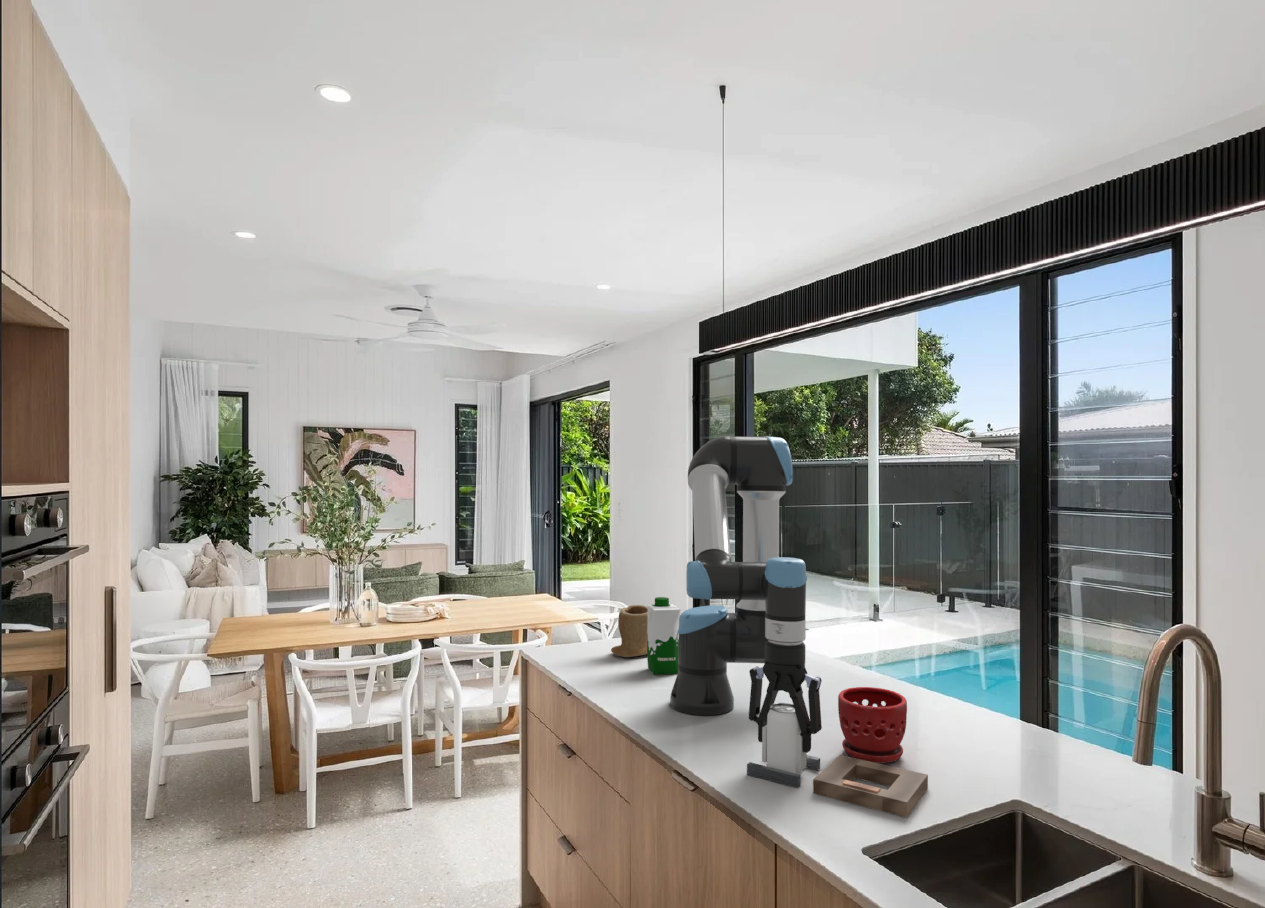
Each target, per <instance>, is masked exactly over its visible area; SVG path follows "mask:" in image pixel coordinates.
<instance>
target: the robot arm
mask: <svg viewBox="0 0 1265 908" xmlns="http://www.w3.org/2000/svg"><path fill="white" fill-rule="evenodd" d="M793 471H794V470H793V461H792V454H791V451H790V448H789V445H788V443H787V441H786V440H785V439H784V438H783V437H778V436H777V437H776V436H768V435H764V436H730V435H724V436H723V435H722V436H718V437H715V438H713V439H710V440H709V441H707V442H706V443H705V444H703V445H702V446H701V447H700V448H699V449H698V450H697V451H696V452H695V453H694V455H693V457H692V459H691V461H690V462H689V465H688V468H687V485H688V487H689V489H690V490H691V491H692V509H693V510H692V511H693V512H692V513H693V538H694V540H693V542H694V543H693V544H694V560H693V561H688V562H687V564H686V574H685V576H686V577H685V578H686V580H685V581H686V582H685V584H686V588H685V589H686V594H687V596H688V597H689V598H692V599H701V600H706V601H708V600H709V601H710V600H739V602H737V603H736V606H735V607H736V608H735V612H729V610H728V608H727V607H726V606H724V605H704V606H697V607H695V606H694V607H692V608H688V609H686V610H684V611H683V612H681V613H680V617H679V629H678V634H679V648H678V674H676V678H675V681H674V683H673V687H672V690H671V693H670V698H669V699H670V703H669V704H670V705H669V706H670V707H671V708H672V709H674V710H675V711H678V712H680V713H684V714H690V715H695V716H696V715H697V716H718V715H723V714H727V713H730V712H731V711H732V710H734V708H735V707H734V706H735V705H734V704H735V703H734V702H735V698H734V694H733V690H732V688H731V684H730V681H729V678H728V673H727V672H728V670H727V669H728V668H727V667H728V666H727V665H728V663H729V664H730V663H731V664H732V663H733V664H736V663H737V664H738V663H739V664H763V666H761V667H760V666H755V667H753V668H750V670H749V676H750V677H749V678H750V681H751V684H750V694H749V707H748V720H750V721H753V722H754V723H756V724H757V732H758V733H757V740H758V742H759V743H761V762H762V763H766V764H767V715H768V712H769V710H770V705H772V704H775V701H776V698H777V695H778V693H779V692H780V691H781V692H782V691H783V692H786V693H788V695H789V698H790V699H791V701H792V704H793V705H794V709H795V712H796V716H797V719H798V723H799V726H800V730H801V733H800V734H798V735H797V771H802V772H803V770H804V769H806V768H805V767H806V755H807V753H809V752H810V751H811V750H812V735H815V734H818V733H819V732H820V731H821V730H822V728H823V726H822V712H821V699H820V698H821V697H820V688H821V685H822V678H821V677H820V676H812V675H810V674H809V673H808V671H807V669H806V644H805V642H804V641H806V638H807V637H806V635H807V634H806V632H807V631H806V630H807V629H806V627H807V626H806V623H807V622H806V605H807V603H806V602H807V600H806V599H807V598H806V597H807V596H806V595H807V593H806V591H807V580H808V576H807V570H806V569H807V568H806V563H805V561H804V560H803V559H801V558H796V557H790V556H789V557H785V556H784V557H783V556H781V557H780V499H781V498H782V497H783V496H784V495H785V494H786V493H787V491H786V486H787V487H788V486H790V485H792V483H793V479H794V478H793V475H794V474H793V473H794V472H793ZM729 485H736V493H737V494H738V495H739V496H740V497H741V498H742V500H743V501H742V503H743V504H742V506H743V507H742V509H743V510H742V512H743V513H742V514H743V515H742V521H743V522H742V561H732V551H731V541H730V530H729V529H730V527H729V517H728V506H727V504H728V503H727V493H726V489H727V488H728V486H729ZM764 676H765V677H766V679H767V681H768V685H767V688H766V694H765V697H764V700H763V703H762V693H763V678H764ZM804 682H806V688H808V691H807V692H808V693H807V695H808V696H807V697H808V698H807V699H808V709H807V707H806V702H805V699H804V695H803V694H804V691H803V688H802V685H803V684H804ZM761 703H762V706H761ZM808 710H809V711H808ZM808 712H809V713H808Z"/></svg>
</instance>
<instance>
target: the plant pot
mask: <svg viewBox="0 0 1265 908" xmlns="http://www.w3.org/2000/svg"><path fill="white" fill-rule="evenodd" d="M837 700H838V701H837V702H838V703H837V705H838V706H837V709H838V718H839V725H840V728H841V731H842V735H843V736H844V739H843V740H842V743H841V744H842V748H843V750H844V751H845V753H846V754H848V755H849V757H852V758H856V759H861V760H865V761H869V762H874V763H878V764H887V763H893V762H895V761H897V760H898V759H900V758H901V757H902V756H903V753H904V748H903V746H902V745H901V743H902V742H903V739H904V736H905V734H906V733H905V732H906V728H907V717H908V716H907V714H908V705H907V704H908V703H907V699H906V698H905V696H903V695H902V694H900V693H898V692H896V691H894V690H890V689H885V688H881V687H874V686H873V687H872V686H859V687H858V686H856V687H850V688H845V689H843V690H841V691H840V692H839V693H838V697H837ZM863 701H867V704H866V705H864V704H863ZM882 702H884V703H885V705H883V704H882ZM874 705H876V706H874Z"/></svg>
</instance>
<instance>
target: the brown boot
mask: <svg viewBox="0 0 1265 908" xmlns="http://www.w3.org/2000/svg"><path fill="white" fill-rule="evenodd" d="M617 619H618V623H617V624H618V626H617V627H618V631H619V635H620V638H621V644H620V645H616V646H615V645H614V646H613V647H611V650H610V652H611V653H612V654H614V655H615V656H618V657H622V658H631V657H633V658H634V657H639V656H644V655H645V656H647V622H648V606H646V605H644V604H643V605H642V604H631V605H629V606H627V607H623V608H621V609H620V611H619V613H618V618H617Z"/></svg>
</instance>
